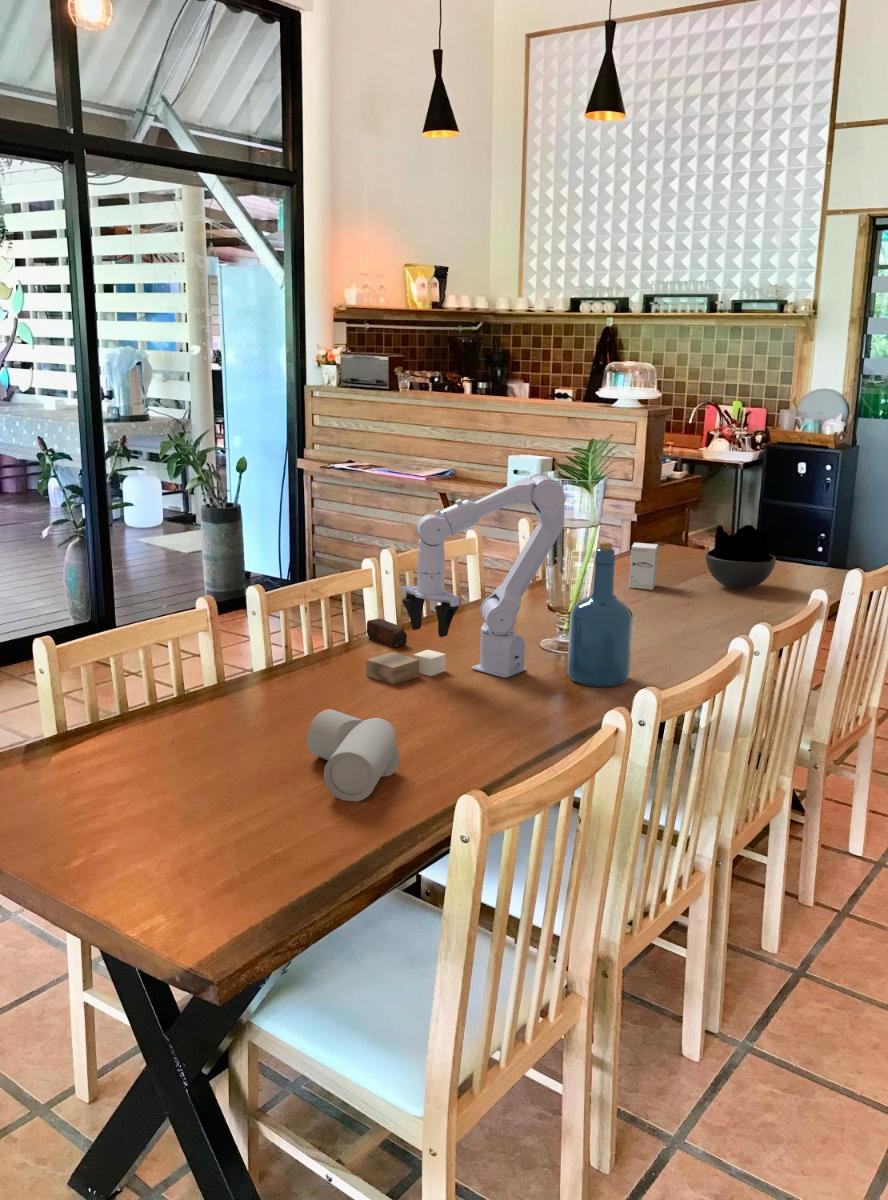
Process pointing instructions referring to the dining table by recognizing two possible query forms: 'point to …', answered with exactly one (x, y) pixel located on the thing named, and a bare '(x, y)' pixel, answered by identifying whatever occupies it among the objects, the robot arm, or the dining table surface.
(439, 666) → the block
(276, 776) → the dining table surface
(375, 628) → the brick
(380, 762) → the grey cylindrical cross piece
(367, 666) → the base
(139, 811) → the dining table surface
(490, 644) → the robot arm
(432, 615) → the dining table surface
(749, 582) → the coal bowl
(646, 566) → the supplement box
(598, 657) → the wine bottle
